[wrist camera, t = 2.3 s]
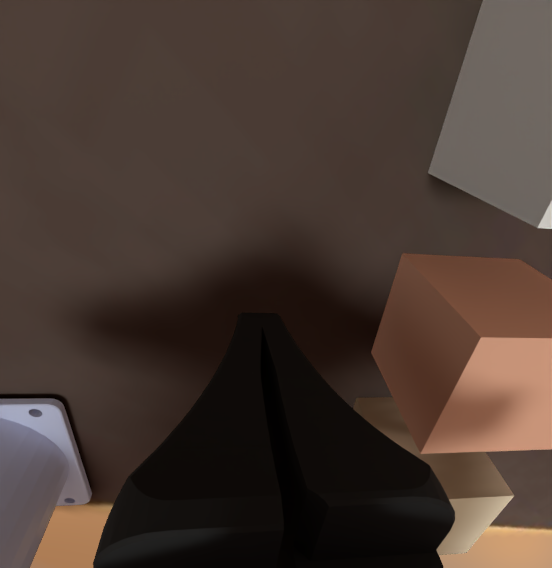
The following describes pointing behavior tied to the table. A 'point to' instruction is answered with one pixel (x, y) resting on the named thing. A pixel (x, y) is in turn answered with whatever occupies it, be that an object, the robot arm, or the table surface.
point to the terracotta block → (469, 353)
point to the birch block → (448, 476)
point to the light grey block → (503, 112)
